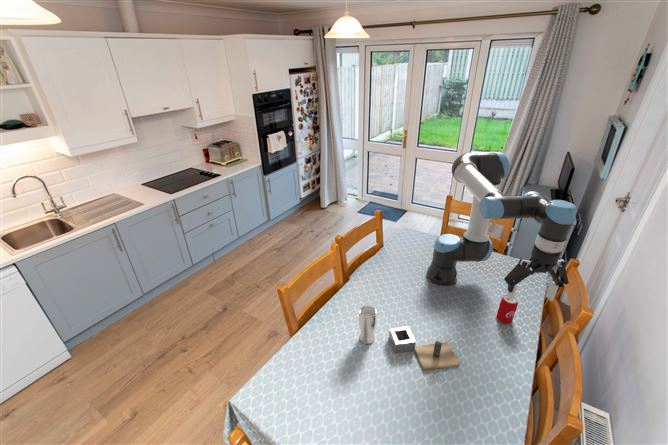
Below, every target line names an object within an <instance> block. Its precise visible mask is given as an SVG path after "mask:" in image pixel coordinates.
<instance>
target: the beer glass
mask: <svg viewBox="0 0 668 445" xmlns="http://www.w3.org/2000/svg"><path fill="white" fill-rule="evenodd" d="M377 317H378V316H377V309H376V308H375V307H374V306H372V305H363V306H361V307H360V309H359V312H358V323H359V324H358V325H359V329H360V334H359V341H360V342H361V343H362V344H364V345H371V344H373V343H374V342H375V329H376V327H377V322H378V321H377V319H378V318H377Z"/></svg>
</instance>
